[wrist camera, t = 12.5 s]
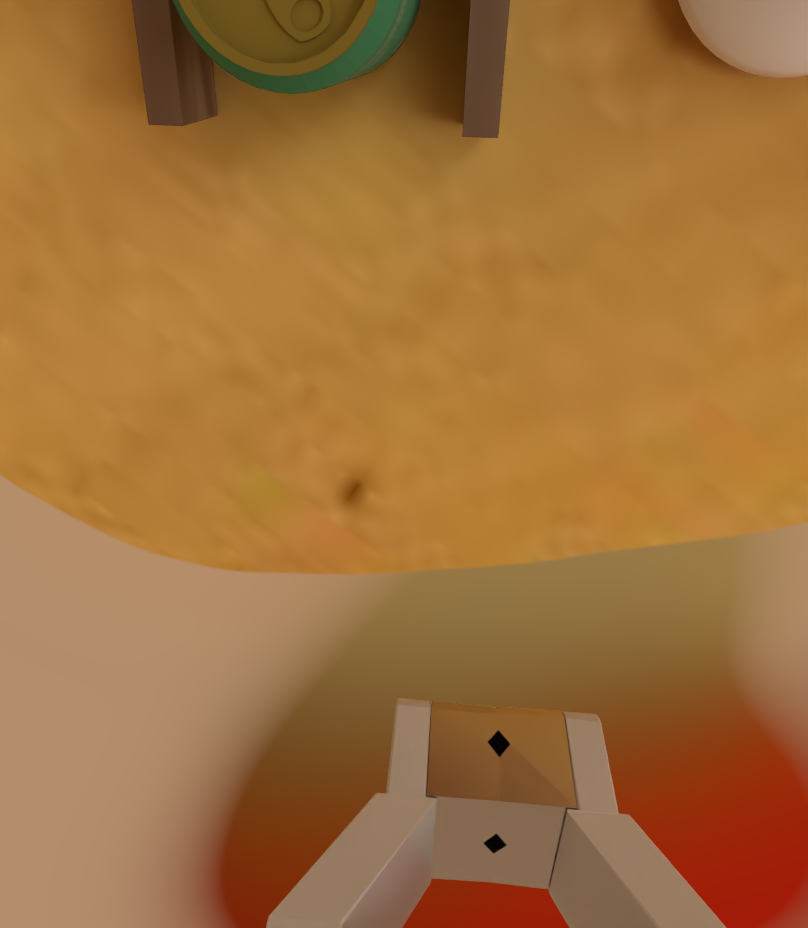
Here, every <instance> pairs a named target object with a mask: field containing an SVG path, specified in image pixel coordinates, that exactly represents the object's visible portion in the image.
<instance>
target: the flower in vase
mask: <svg viewBox="0 0 808 928" xmlns="http://www.w3.org/2000/svg"><path fill="white" fill-rule="evenodd" d="M678 2H679V4H680V7H681V10H682V12H683V15H684V16H685V18H686V20H687V22H688V24H689V26H690V27H691V29H692V31H693V32H694V33H695V35H696V36H697V37H698V38H699V40H700V41H701V42H702V44H703V45H704V46H705V47H707V48H708V49H709V50H710V51H711V52H712V53H713V54H714V55H715V56H717V57H718V58H720V59H721V60H723V61H724V62H726V63H727V64H729V65H730V66H733V67H735V68H737V69H739V70H741V71H744V72H747V73H751V74H754V75H758V76H763V77H772V78H795V77H801V76H807V75H808V0H678Z"/></svg>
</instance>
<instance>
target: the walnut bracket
mask: <svg viewBox="0 0 808 928" xmlns="http://www.w3.org/2000/svg"><path fill="white" fill-rule="evenodd" d="M509 3H510V0H471V4H470V21H469V37H468V53H467V69H466V85H465V102H464V118H463V134H462V137H484V138H498V133H499V121H500V109H501V97H502V86H503V74H504V62H505V50H506V38H507V26H508V14H509ZM132 5H133V12H134V20H135V27H136V34H137V42H138V49H139V56H140V64H141V71H142V79H143V86H144V93H145V101H146V108H147V115H148V123H149V125H171V126H184V125H188V124H191V123H194V122H197V121H201V120H204V119H207V118H210V117H214V116H217V106H216V96H215V85H214V74H213V63H212V58H210V57H209V56H208V55H207V54H206V52H205V51H204V50H203V49H202V48H201V47H200V45H199V44H198V43H197V42H196V41H195V39H194V38H193V36H192V35H191V33H190V32H189V30H188V29H187V27H186V26H185V24H184V23H183V21H182V19H181V17H180V15H179V13H178V11H177V9H176V6H175V4H174V2H173V0H132Z"/></svg>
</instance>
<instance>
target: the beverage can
mask: <svg viewBox="0 0 808 928" xmlns="http://www.w3.org/2000/svg"><path fill="white" fill-rule="evenodd" d="M173 2H174V4H175V6H176V9H177V11H178V13H179V15H180V17H181V19H182V21H183V23H184V24H185V26H186V27H187V29H188V30H189V32H190V33H191V35H192V36H193V38H194V39H195V41H196V42H197V43H198V44H199V45H200V47H201V48H202V49H203V50H204V51H205V52H206V54H207V55H208V56H209V57H210V58H212V59H213V60H214V61H215V62H216V63H217V64H218V65H219V66H221V67H222V68H223V69H224V70H226V71H227V72H229V73H230V74H232V75H233V76H235V77H236V78H238V79H239V80H242V81H244V82H246V83H248V84H250V85H253V86H255V87H257V88H261V89H265V90H268V91H272V92H278V93H289V94H295V93H307V92H313V91H316V90H320V89H324V88H327V87H330V86H333V85H336V84H339V83H341V82H344V81H347V80H350V79H353V78H356V77H358V76H361V75H364V74H366V73H368V72H370V71H372V70H374V69H376V68H377V67H379V66H380V65H381V64H383V63H384V62H386V61H387V60H388V59H389V58H390V57H391V56H392V55H393V54H394V53H395V52H396V51H397V50H398V48H399V47H400V45H401V44H402V43H403V41H404V40H405V39H406V37H407V35H408V33H409V31H410V29H411V27H412V25H413V23H414V20H415V17H416V15H417V12H418V9H419V4H420V0H173Z"/></svg>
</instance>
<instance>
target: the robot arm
mask: <svg viewBox="0 0 808 928" xmlns="http://www.w3.org/2000/svg"><path fill="white" fill-rule="evenodd" d="M430 712H431V716H430ZM429 730H430V731H429ZM431 878H434V879H450V880H466V881H483V882H494V883H501V884H510V885H518V886H526V887H534V888H544V889H549V894H550V895H551V897H552V899H553V901H554V902H555V904H556V906H557V907H558V909H559V911H560V912H561V914H562V916H563V917H564V919H565V921H566V922H567V924H568V926H569V927H570V928H726V927H725V926H724V925H723V923H722V922H721V921H720V920H719V919H718V918H717V916H716V915H715V914H714V913H713V912H712V911H711V909H710V908H709V907H708V906H707V905H706V904H705V902H703V900H702V899H701V898H700V897H699V895H698V894H697V893H696V892H695V891H694V890H693V889H692V887H691V886H690V885H689V884H688V883H687V882H686V880H685V879H684V878H683V877H682V876H681V875H680V874H679V872H678V871H677V870H676V869H675V868H674V866H673V865H672V864H671V863H670V862H669V861H668V859H667V858H666V857H665V856H664V855H663V854H662V853H661V851H660V850H659V849H658V848H657V847H656V846H655V844H654V843H653V842H652V841H651V840H650V839H649V837H648V836H647V835H646V834H645V833H644V832H643V830H642V829H641V828H640V827H639V826H638V825H637V824H636V822H635V821H634V820H633V819H632V818H631V816H630V815H626V814H619V813H618V808H617V803H616V798H615V793H614V788H613V782H612V778H611V772H610V767H609V762H608V757H607V752H606V747H605V742H604V737H603V732H602V726H601V721H600V719H599V718H598V716H597V715H596V714H587V713H575V712H561V711H554V710H539V709H524V708H509V707H496V708H494V707H485V706H475V705H466V704H457V703H447V702H438V701H432V704H431V701H424V700H414V699H404V698H398V701H397V704H396V709H395V718H394V727H393V736H392V745H391V754H390V764H389V772H388V781H387V790H386V793H376V794H375V795H374V796H373V797H372V798H371V800H370V801H369V802H368V803H367V804H366V805H365V806H364V808H363V809H362V810H361V811H360V812H359V813H358V815H357V816H356V817H355V818H354V819H353V820H352V822H351V823H350V824H349V825H348V826H347V827H346V828H345V830H344V831H343V832H342V833H341V834H340V835H339V837H338V838H337V839H336V840H335V841H334V842H333V843H332V844H331V846H330V847H329V848H328V849H327V850H326V851H325V853H324V854H323V855H322V856H321V857H320V858H319V859H318V861H317V862H316V863H315V864H314V865H313V866H312V868H311V869H310V870H309V871H308V872H307V873H306V874H305V876H304V877H303V878H302V879H301V880H300V881H299V882H298V884H297V885H296V886H295V887H294V888H293V890H291V892H290V893H289V894H288V895H287V896H286V898H285V899H284V900H283V901H282V902H281V903H280V904H279V906H278V907H277V908H276V909H275V910H274V911H273V912H272V914H271V915H270V916H269V918H268V922H267V927H266V928H402V927H403V925H404V923H405V922H406V920H407V919H408V917H409V916H410V914H411V912H412V911H413V909H414V908H415V906H416V904H417V903H418V901H419V900H420V898H421V896H422V895H423V893H424V892H425V890H426V889H427V887H428V886H429V884H430V881H431Z"/></svg>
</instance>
